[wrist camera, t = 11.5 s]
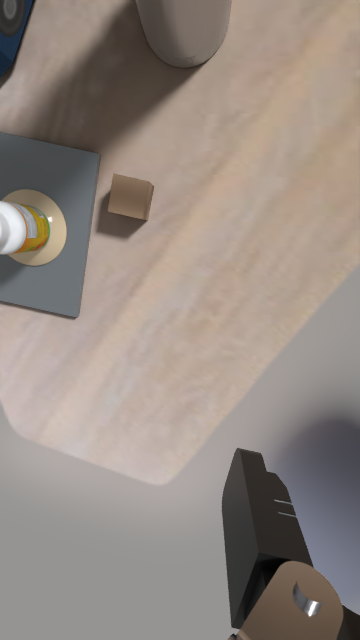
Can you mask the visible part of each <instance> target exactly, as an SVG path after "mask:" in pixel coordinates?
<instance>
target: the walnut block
mask: <svg viewBox="0 0 360 640" xmlns="http://www.w3.org/2000/svg"><path fill="white" fill-rule="evenodd" d="M153 190H154V186H153V185H152V184H151V183H150V182H148V181H143V180H139V179H135V178H131V177H126V176H122V175H118V174H113V179H112V186H111V192H110V198H109V205H108V212H113V213H117V214H121V215H126V216H130V217H134V218H138V219H143V220H147V221H148V216H149V211H150V206H151V201H152V195H153Z"/></svg>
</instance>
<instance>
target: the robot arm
mask: <svg viewBox="0 0 360 640" xmlns="http://www.w3.org/2000/svg"><path fill="white" fill-rule="evenodd" d="M135 1H136V4H137V8H138V12H139V16H140V19H141V23H142V26H143V30H144V34H145V36H146V39H147V41H148V44H149V45H150V47H151V49H152V50H153V52H154V53H155V54H156V55H157V56H158V57H159V58H160V59H161V60H163V61H164V62H166V63H167V64H169V65H172V66H175V67H181V68H188V67H194V66H197V65H199V64H202V63H204V62H205V61H206V60H208V59H209V58H211V57H212V56H213V54H214V53H215V52H216V51H217V50H218V48H219V47H220V45H221V44H222V42H223V40H224V37H225V35H226V32H227V28H228V23H229V17H230V10H231V3H232V0H135ZM291 503H292V502H291V500H290V496H289V493H288V491H287V488H286V486H285V485H284V484H283V482H282V481H281V480H280V479H279V477H278V476H277V475H276V474H275V473H271V472H267V471H266V468H265V464H264V460H263V457H262V455H261V453H258V452H254V451H249V450H244V449H240V448H237V449H236V451H235V453H234V457H233V460H232V463H231V467H230V470H229V473H228V477H227V480H226V483H225V487H224V491H223V497H222V515H223V527H224V540H225V553H226V565H227V577H228V589H229V602H230V613H231V626H232V628H237V629H240V630H239V632H238V633H237V634H236V635H235V634H232V635H231V636H230V637H229V638H228V640H360V615H358V614H356V613H354V612H352V611H351V610H349V609H347V608H346V607H345V606H343V605H342V603H341V601H340V598H339V596H338V594H337V592H336V591H335V589H334V587H333V586H332V585H331V583H330V582H329V581H328V580H327V579H326V578H325V577H324V576H323V575H322V574H321V573H320V572H318V571H317V570H316V569H314V567H313V564H312V561H311V558H310V555H309V552H308V549H307V546H306V543H305V541H304V537H303V534H302V531H301V529H300V526H299V523H298V520H297V518H296V514H295V511H294V508H293V506H292V505H291Z"/></svg>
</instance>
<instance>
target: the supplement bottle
mask: <svg viewBox="0 0 360 640" xmlns="http://www.w3.org/2000/svg"><path fill="white" fill-rule="evenodd" d="M50 237H51V225H50V222H49V220H48V218H47V216H46V215H45V214H44V213H43V212H42V211H41V210H40V209H38V208H36V207H34V206H31V205H25V204H18V203H11V202H5V201H0V254H2V255H3V254H14V253H22V252H30V251H36V250H39V249H41V248H43V247H44V246H45V245H46V244H47V243H48V242H49V240H50Z"/></svg>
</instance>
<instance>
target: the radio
mask: <svg viewBox="0 0 360 640" xmlns="http://www.w3.org/2000/svg"><path fill="white" fill-rule="evenodd" d="M32 1H33V0H0V77H1V76H2V75H3V74H4V73H5V71H6V70H7V69H8V68H9V67H10V66H11V64H12V63H13V60H14V57H15V54H16V51H17V48H18V45H19V42H20V39H21V36H22V32H23V29H24V26H25V23H26V20H27V17H28V14H29V11H30V7H31V4H32Z"/></svg>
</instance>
